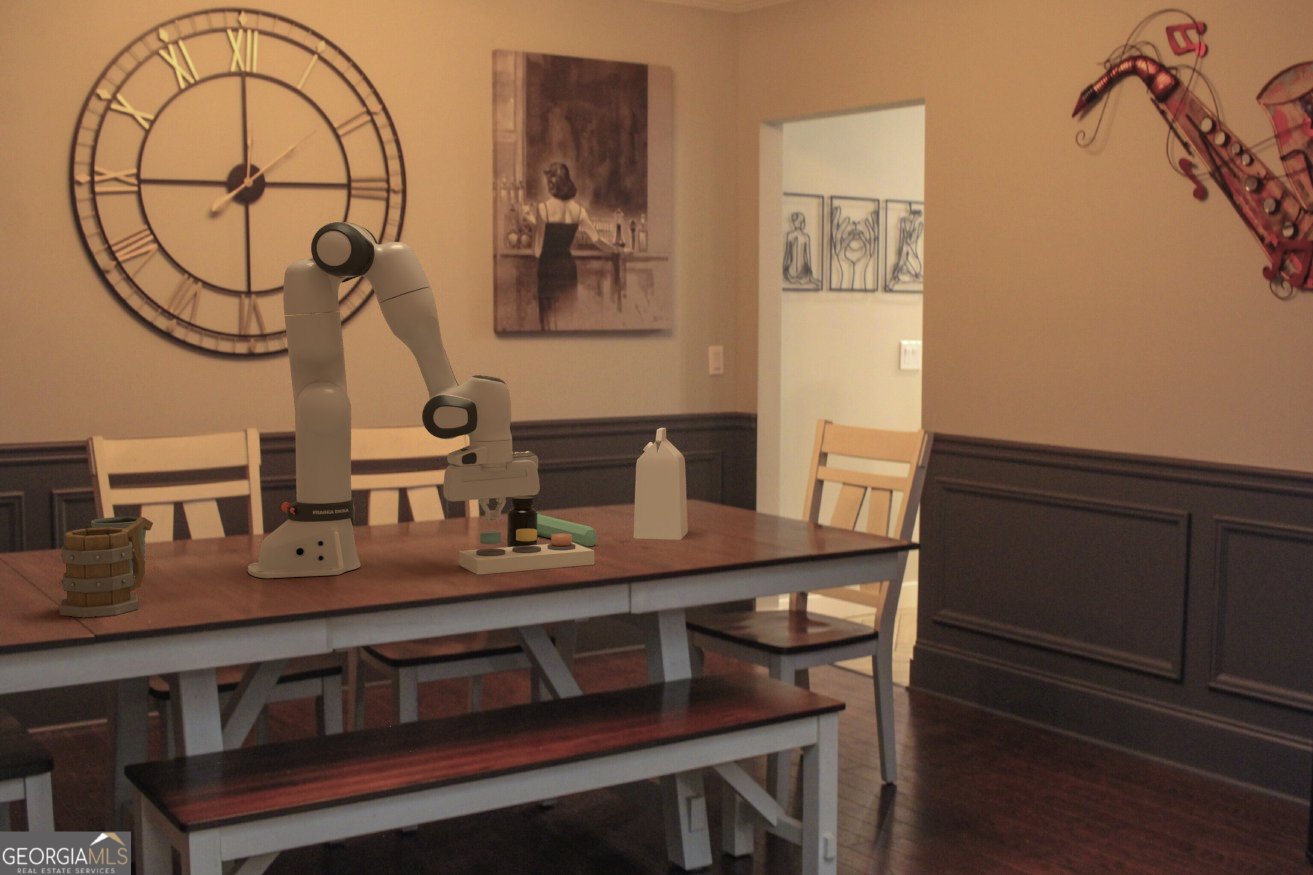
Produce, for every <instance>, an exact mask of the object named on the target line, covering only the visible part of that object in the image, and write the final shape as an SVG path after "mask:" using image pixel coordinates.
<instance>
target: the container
mask: <svg viewBox="0 0 1313 875" xmlns="http://www.w3.org/2000/svg"><path fill="white" fill-rule="evenodd" d="M536 512H537V536H540V537H543V538H546V539H551V535H552V534H558V533H566V534H571V535H572V542H573V543H575V544H578V545H581V546H583V547H586V548H589V547H593V546H594V545H595V544H596V543H597V542H598V533H597V531H596V530H595V529H594V528H593V527H592V526H589V525H585V524H581V523H576V522H572V521H568V520H564V519H559V518H556V517H552V516H548V515H544V514H541V513H540V512H539V511H536Z"/></svg>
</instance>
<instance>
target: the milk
mask: <svg viewBox="0 0 1313 875" xmlns="http://www.w3.org/2000/svg"><path fill="white" fill-rule="evenodd" d="M655 434H656V435H655V441H654V443H653V442H652V441H650V442H648V443H647V445H645V446H644V447H643V449H642V450H643V451H644V452H643V453H642V454H641V455H640V456H639V457H638V458H637V459H636V464H635V488H634V515H633V517H634V518H633V539H640V540H643V539H646V540H673V541H674V540H677V541H678V540H679V541H680V540H682V539H683V538H684V537H685V536H686V534H688V530H689V529H688V528H689V527H688V504H687V479H686V478H687V477H686V459H685V456H684V455H683V453H681V451H680V450H679V449H677V447H676V446H675V445H673V443H672V442H671V441H669V440H668V439H667V427H660V428H657V429H656V433H655Z"/></svg>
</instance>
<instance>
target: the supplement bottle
mask: <svg viewBox="0 0 1313 875" xmlns="http://www.w3.org/2000/svg"><path fill="white" fill-rule="evenodd" d="M511 506H512V508H510V509H509V510H508V511H507V513H506V514H507V519H506V520H507V522H506V523H507V524H506V532H507V533H506V541H507V542H506V547H517V546H530V545H538V539H537V540H535V541H517V540H516V530H518V529H536V530H537V512H538V511H537V510H536V509H535V508H533V507H534V497H532V496H528V495H526V496H514V497H511Z"/></svg>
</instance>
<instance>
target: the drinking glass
mask: <svg viewBox="0 0 1313 875" xmlns="http://www.w3.org/2000/svg"><path fill="white" fill-rule="evenodd" d="M140 517H141V516H113V517H101V518H96V519H92V520H91V521H90V522H91V523H90V524H91V525H90V526H91V528H106V527H108V528H110V527H112V528H125V529H126V528H127V527H128V526H130V525H131V524H133V523H134V522H135V521H136V520H137V519H138V518H140ZM146 536H147V530H144V529H142V530H141V531H140V532H139V540H140V548H141V551H142V554H143V557H144V559H146V557H145V553H146ZM129 568H132V569H133V563H132V560H131V559H130V560H129Z"/></svg>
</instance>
